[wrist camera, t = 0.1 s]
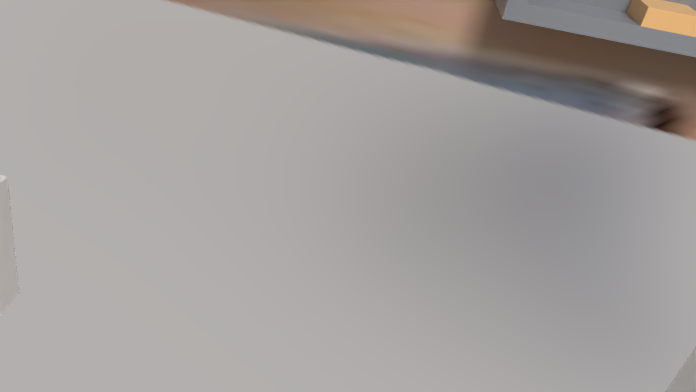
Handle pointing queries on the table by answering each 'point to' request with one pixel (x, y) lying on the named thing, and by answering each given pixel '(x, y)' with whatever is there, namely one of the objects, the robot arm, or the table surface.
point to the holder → (614, 20)
